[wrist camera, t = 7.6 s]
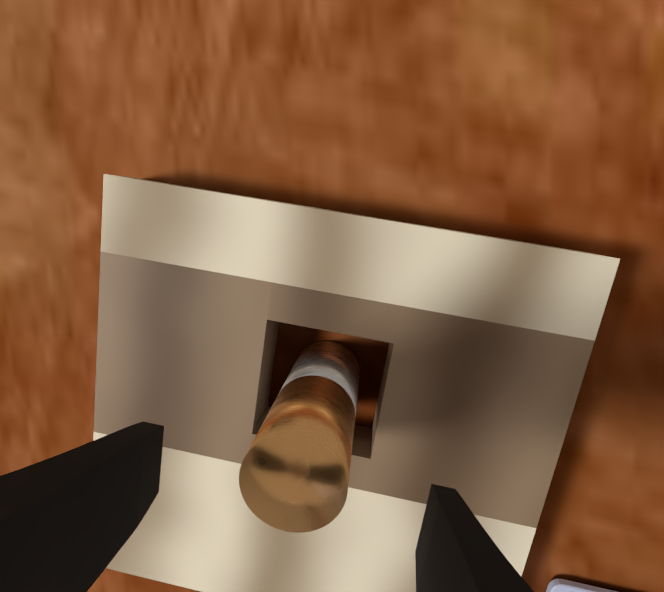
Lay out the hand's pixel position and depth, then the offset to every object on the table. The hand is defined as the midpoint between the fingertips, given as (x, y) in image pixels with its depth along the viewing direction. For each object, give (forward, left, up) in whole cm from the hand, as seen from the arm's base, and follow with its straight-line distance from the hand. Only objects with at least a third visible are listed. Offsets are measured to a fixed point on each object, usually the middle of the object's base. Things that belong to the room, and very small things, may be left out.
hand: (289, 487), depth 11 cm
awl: (0, 0, -8) cm, 8 cm away
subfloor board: (0, +2, -8) cm, 9 cm away
